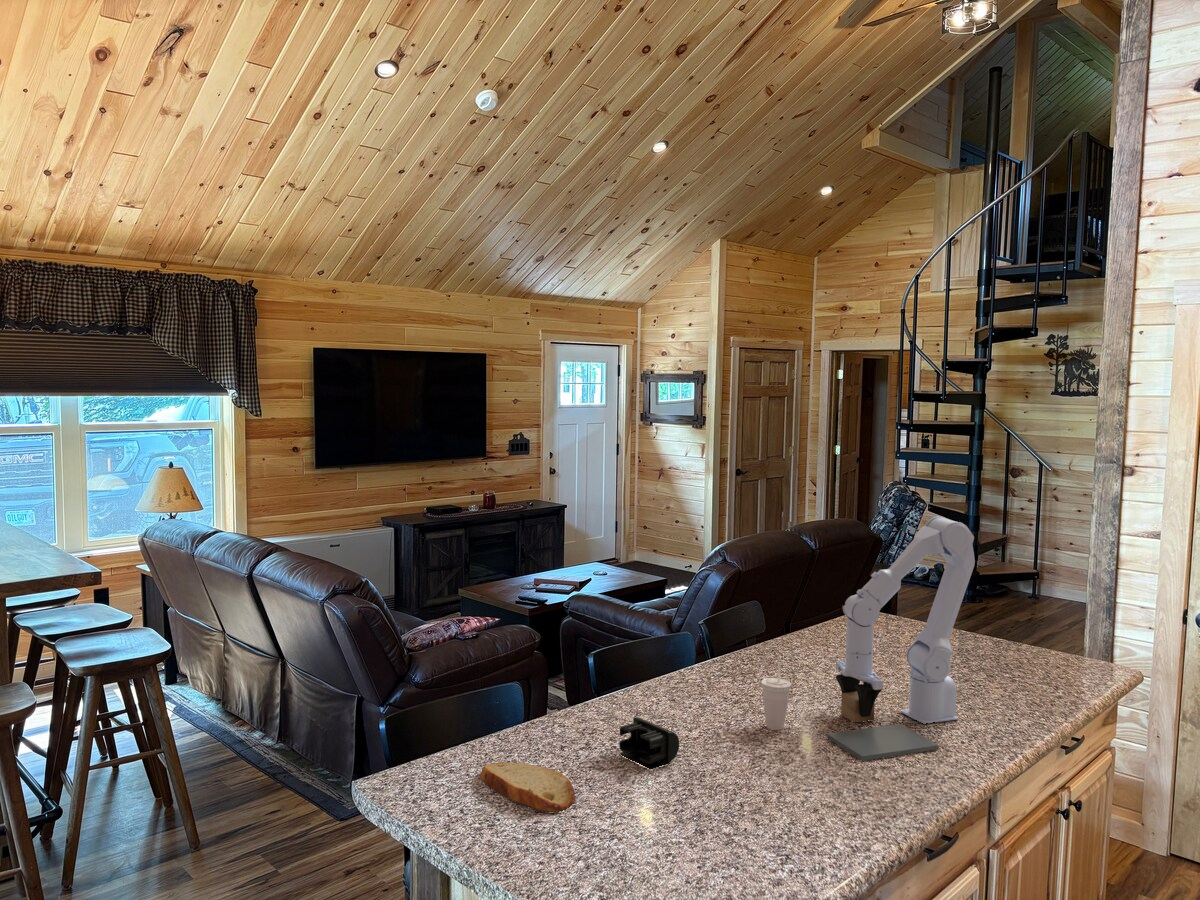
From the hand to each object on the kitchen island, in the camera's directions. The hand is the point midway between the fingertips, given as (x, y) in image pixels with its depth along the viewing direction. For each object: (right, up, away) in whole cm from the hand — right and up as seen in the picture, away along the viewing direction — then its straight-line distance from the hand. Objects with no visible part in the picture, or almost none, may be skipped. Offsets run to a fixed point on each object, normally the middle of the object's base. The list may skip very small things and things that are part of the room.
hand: (857, 711), depth 197 cm
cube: (0, -1, 0) cm, 1 cm away
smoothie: (-19, -2, -6) cm, 20 cm away
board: (+1, -2, -14) cm, 15 cm away
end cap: (-47, -3, -23) cm, 52 cm away
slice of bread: (-70, -4, -37) cm, 79 cm away
